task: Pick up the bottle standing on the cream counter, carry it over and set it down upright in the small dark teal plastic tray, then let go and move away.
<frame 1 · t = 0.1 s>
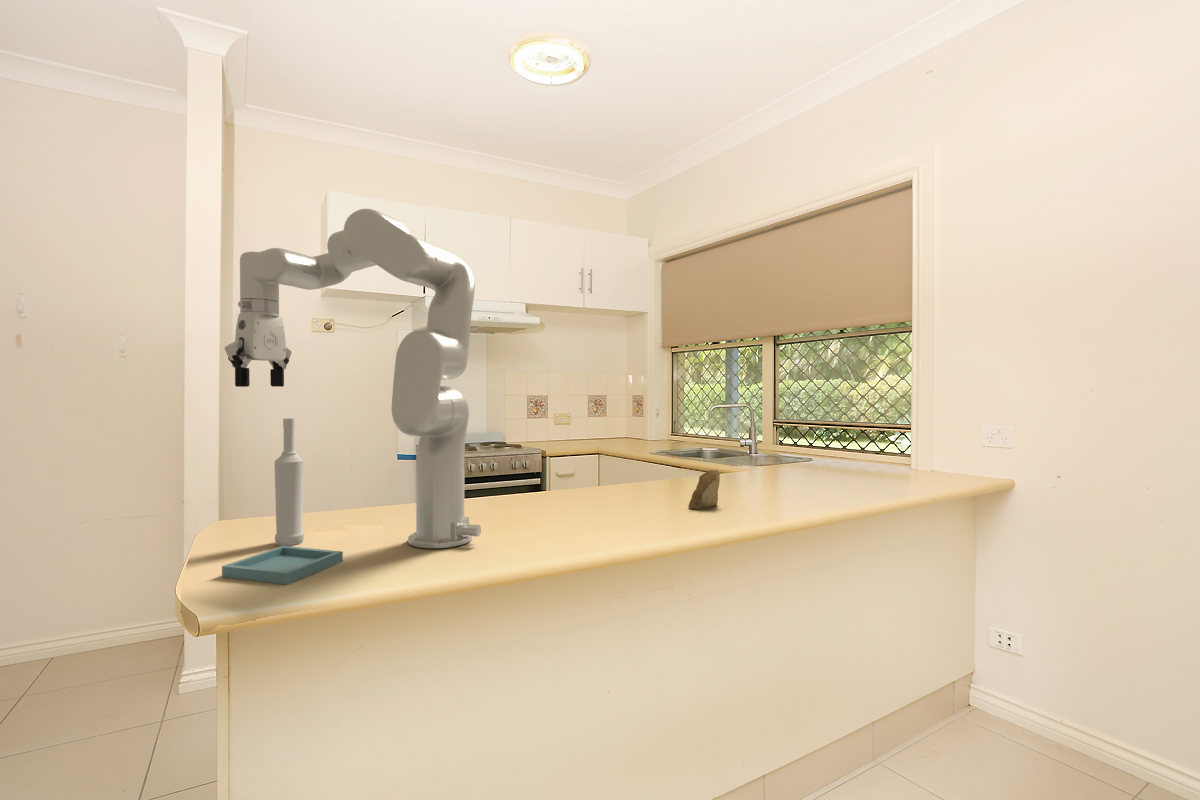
hand: (260, 386, 132), 31 cm above the countertop, tool pointing down, fingers open, 9 cm apart
tray: (285, 568, 103), on the countertop
rock: (702, 507, 159), on the countertop
bottle: (289, 543, 119), on the countertop
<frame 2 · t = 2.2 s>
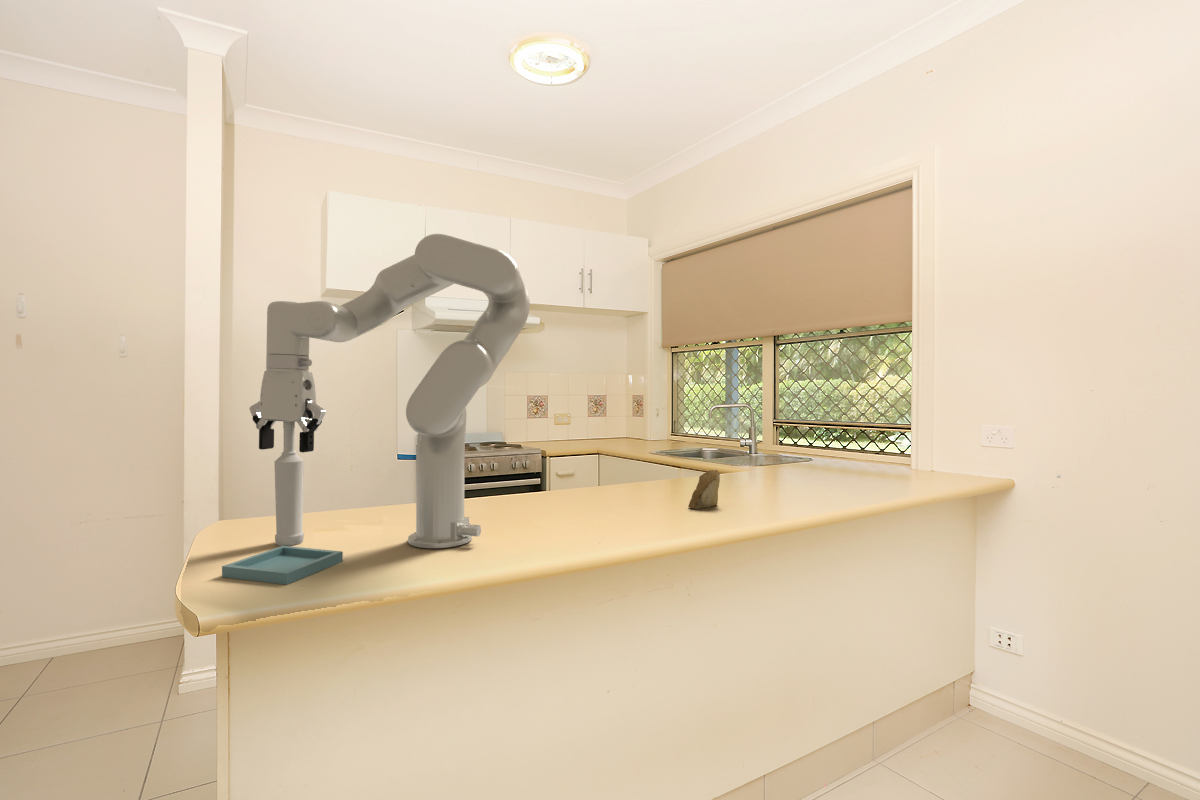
hand: (286, 450, 119), 19 cm above the countertop, tool pointing down, fingers open, 9 cm apart
nothing on the countertop moved.
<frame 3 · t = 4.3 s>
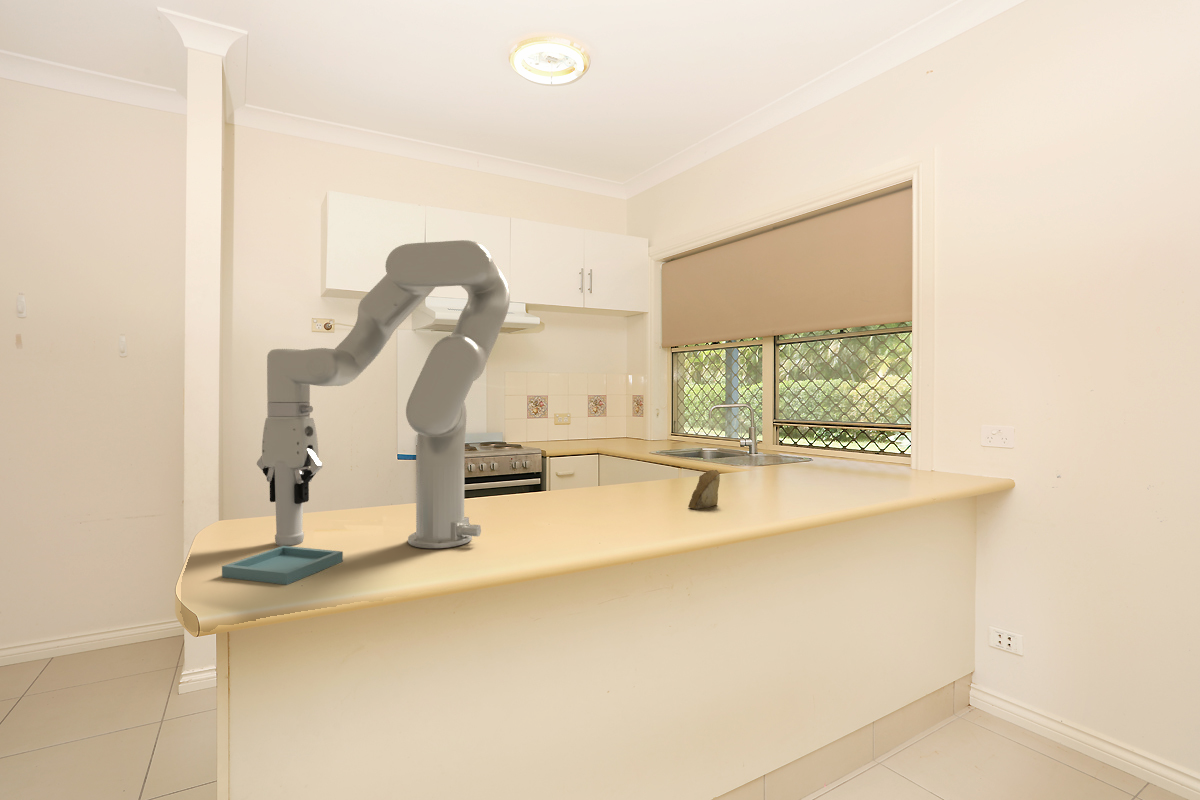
hand: (289, 500, 119), 8 cm above the countertop, tool pointing down, fingers closed on bottle, 5 cm apart
bottle: (289, 543, 119), on the countertop, touching gripper
everything else where it was.
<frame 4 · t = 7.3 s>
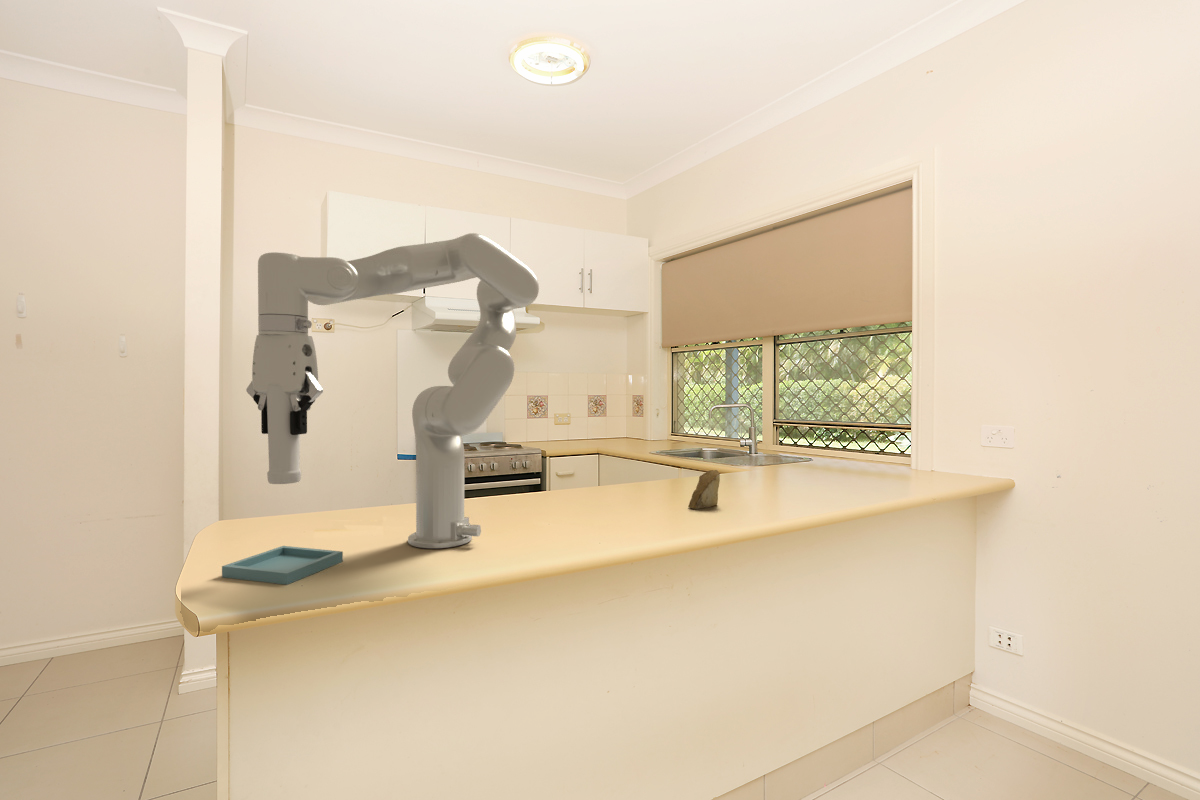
hand: (284, 432, 102), 24 cm above the countertop, tool pointing down, fingers closed on bottle, 5 cm apart
bottle: (284, 482, 102), point 15 cm above the countertop, touching gripper
everything else where it was.
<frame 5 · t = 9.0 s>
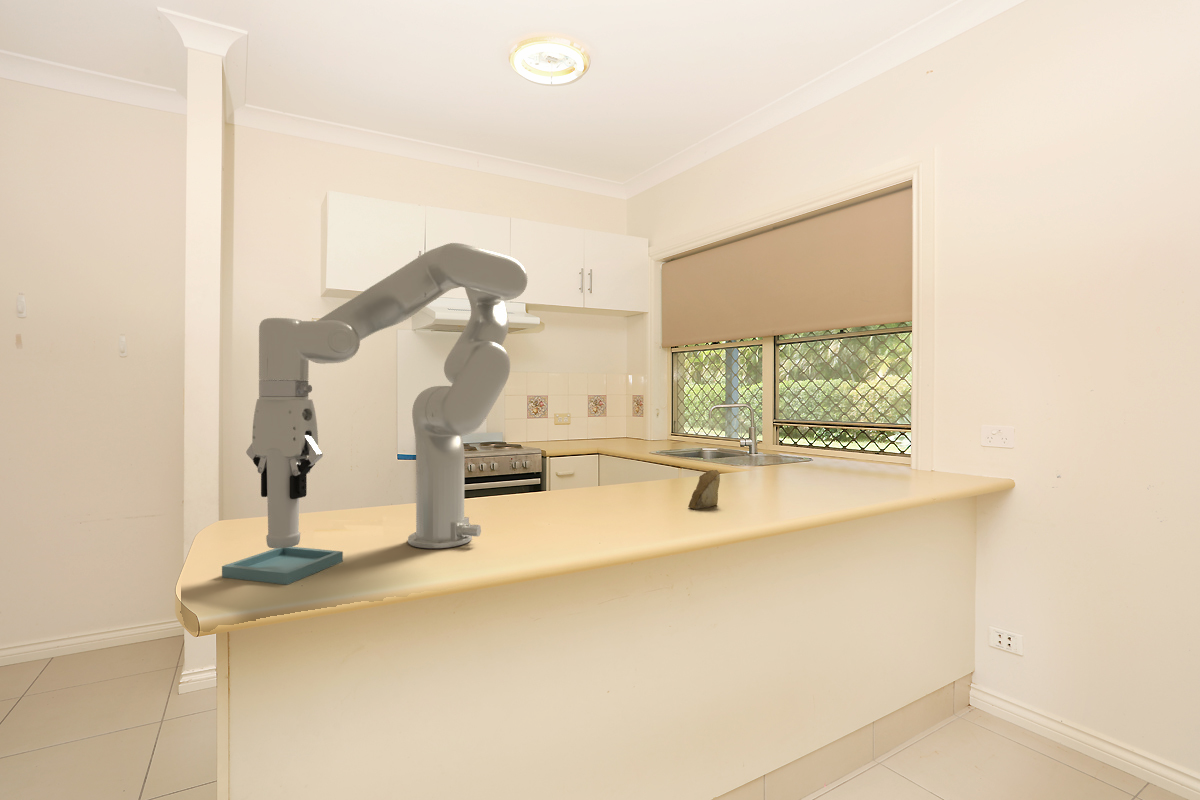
hand: (283, 495, 102), 13 cm above the countertop, tool pointing down, fingers closed on bottle, 5 cm apart
bottle: (283, 545, 102), point 4 cm above the countertop, touching gripper
everything else where it was.
when the fingers open (10 cm above the countertop, at t = 10.5 s): bottle stays where it is, resting on tray.
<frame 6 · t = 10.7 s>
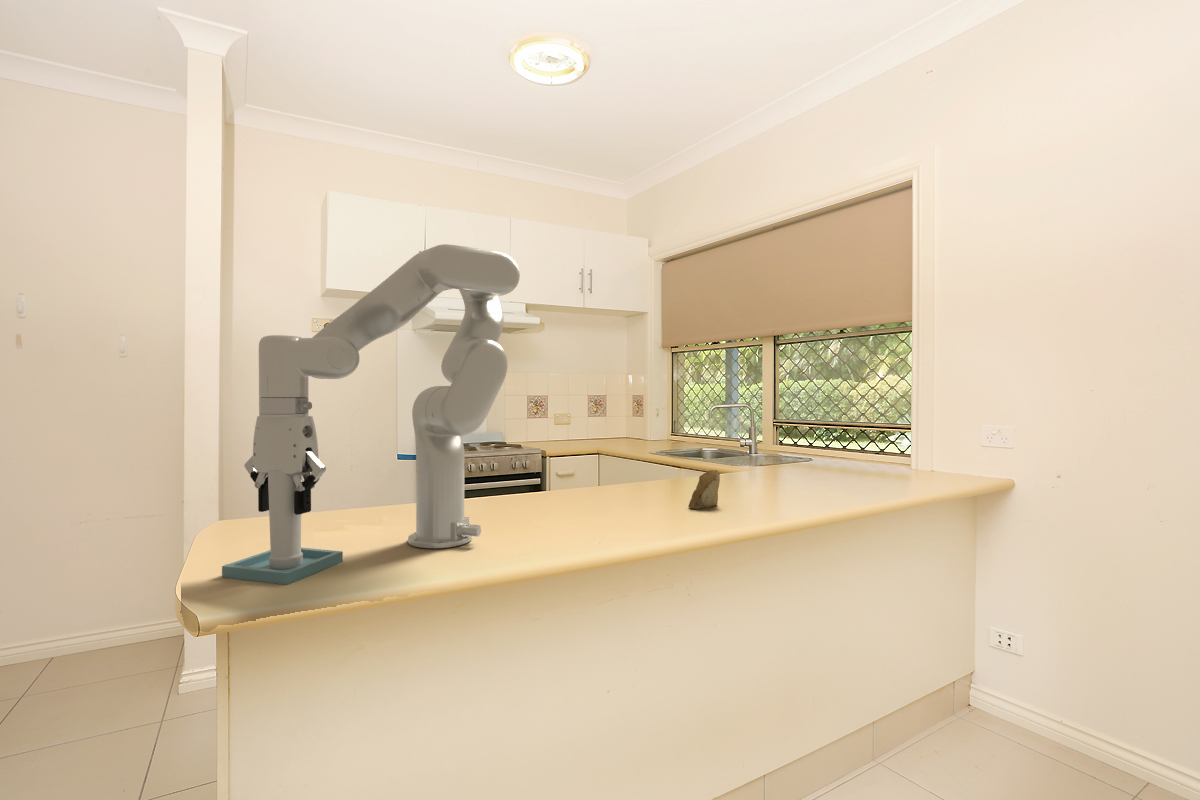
hand: (284, 510, 102), 10 cm above the countertop, tool pointing down, fingers open, 6 cm apart
bottle: (286, 566, 103), resting on tray
everything else where it was.
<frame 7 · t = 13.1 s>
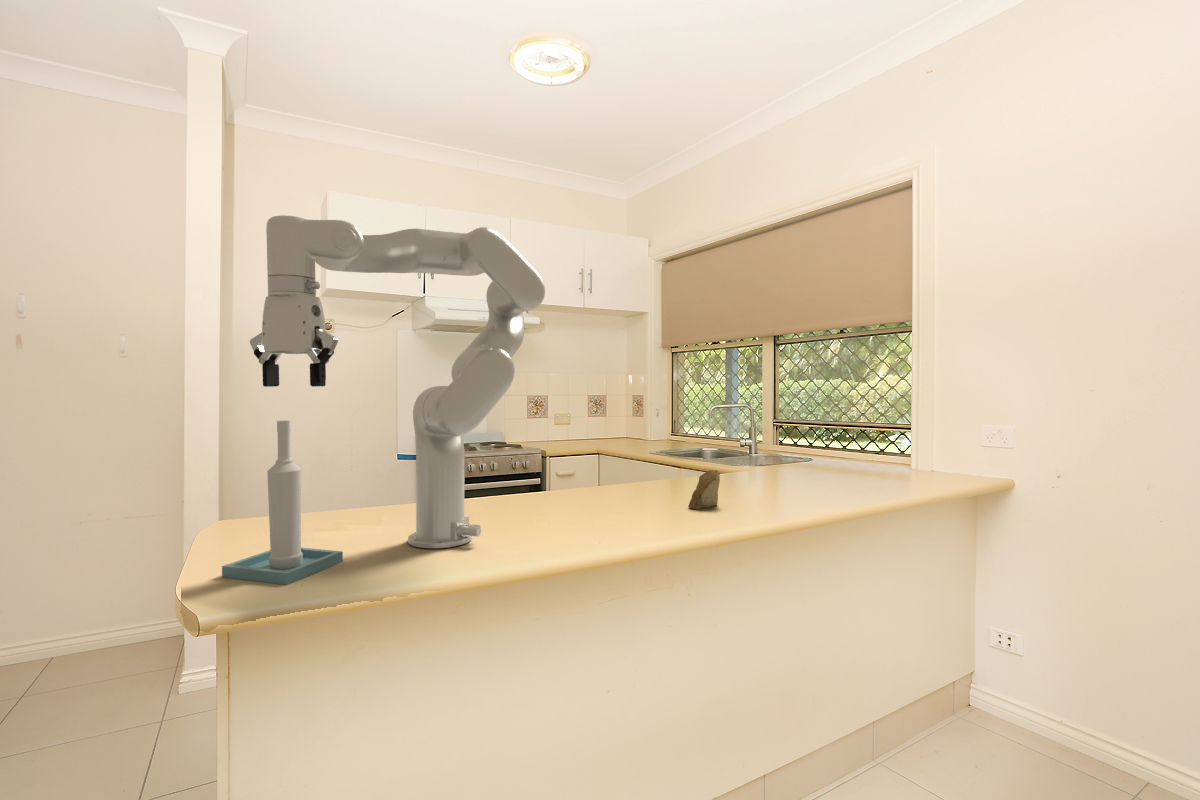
hand: (294, 386, 105), 31 cm above the countertop, tool pointing down, fingers open, 9 cm apart
nothing on the countertop moved.
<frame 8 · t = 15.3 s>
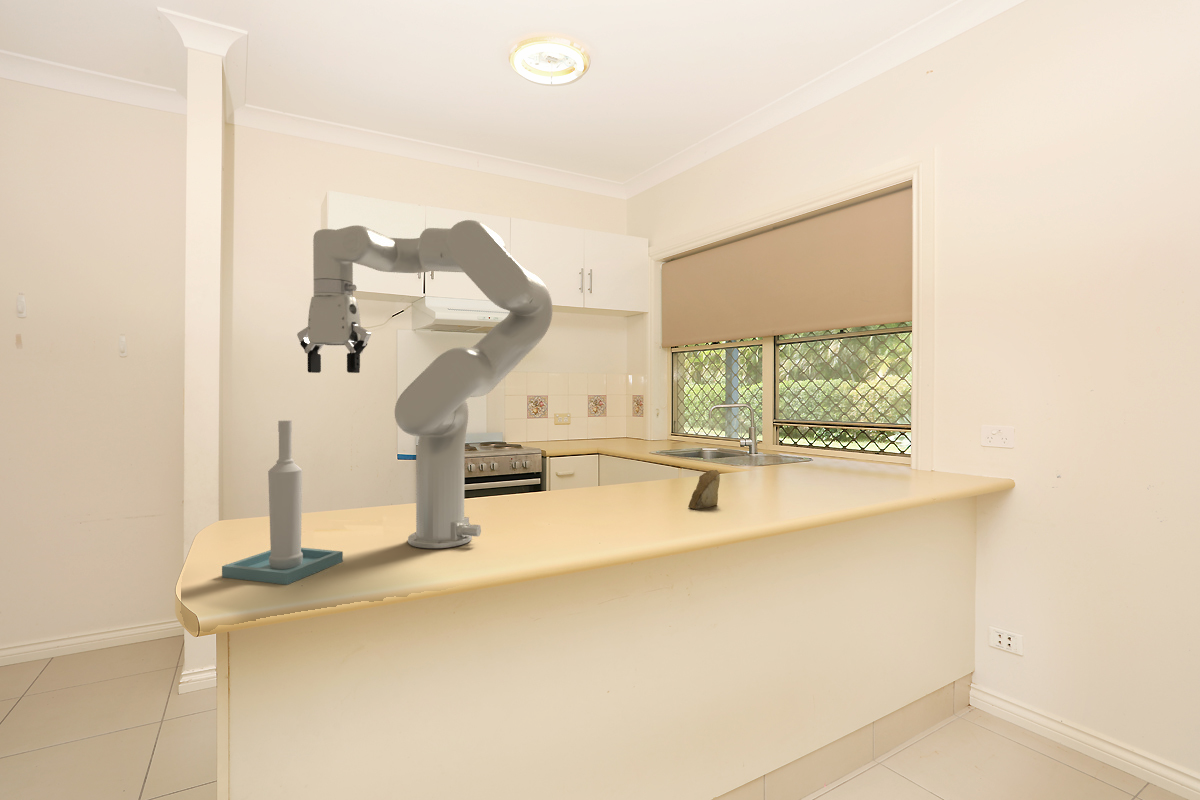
hand: (333, 372, 125), 34 cm above the countertop, tool pointing down, fingers open, 9 cm apart
nothing on the countertop moved.
at the end: bottle inside the target area on the tray (0.1 cm from its centre), point 0.4 cm above the tray's base; bottle tilted 0°; the gripper is holding nothing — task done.
